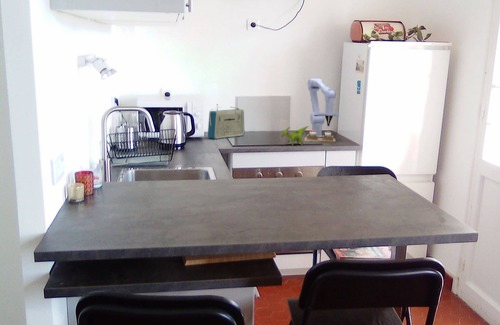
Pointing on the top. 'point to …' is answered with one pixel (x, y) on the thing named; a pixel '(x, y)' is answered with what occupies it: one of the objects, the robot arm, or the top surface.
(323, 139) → the socket panel
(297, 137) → the toy
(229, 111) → the radio
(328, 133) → the grey plug
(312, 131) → the plug red
